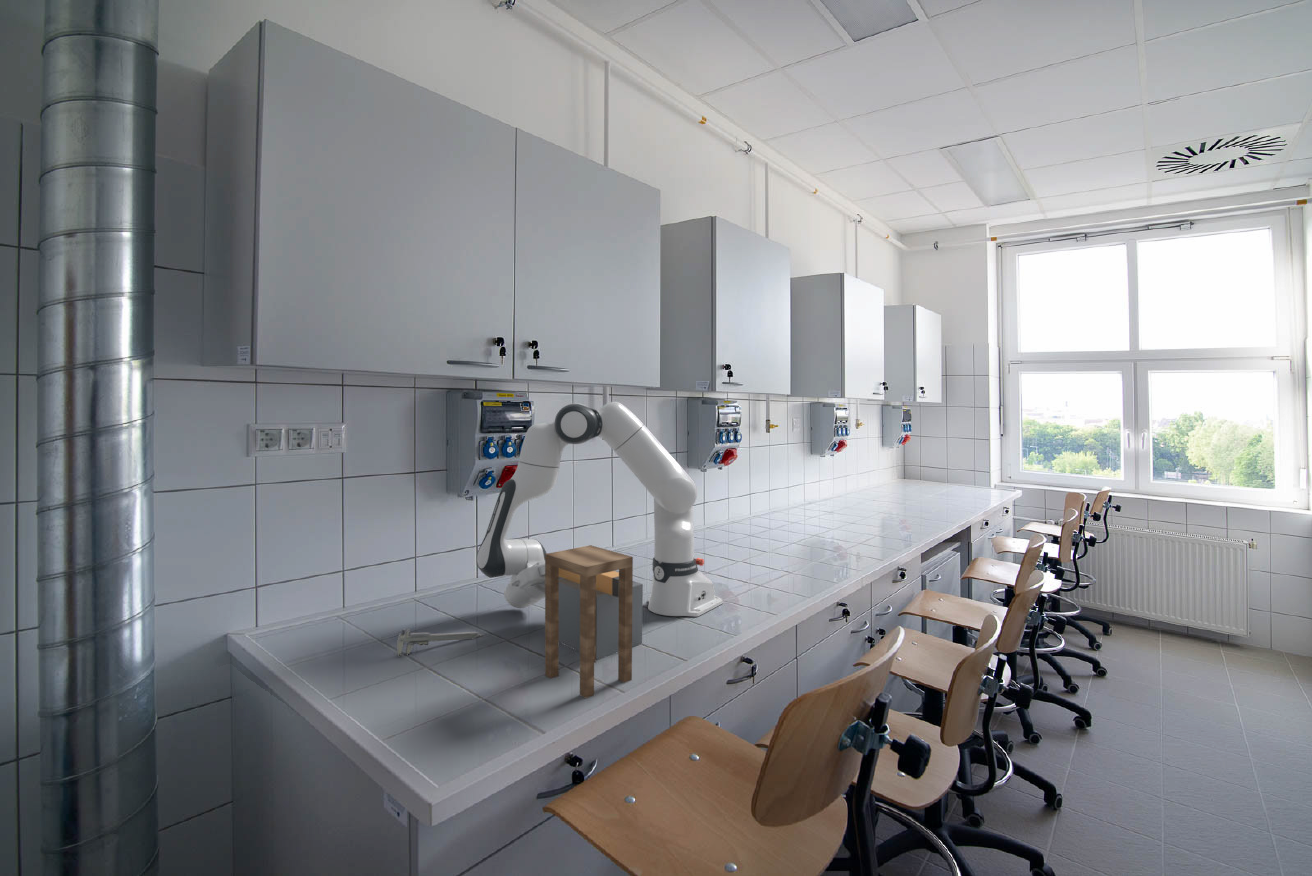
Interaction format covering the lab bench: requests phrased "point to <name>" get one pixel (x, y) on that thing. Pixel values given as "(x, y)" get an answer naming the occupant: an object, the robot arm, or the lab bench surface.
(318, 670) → the lab bench surface
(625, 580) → the wooden bar stool
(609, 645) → the crate
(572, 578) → the capped wooden beam
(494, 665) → the lab bench surface
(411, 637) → the caliper
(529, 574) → the robot arm
